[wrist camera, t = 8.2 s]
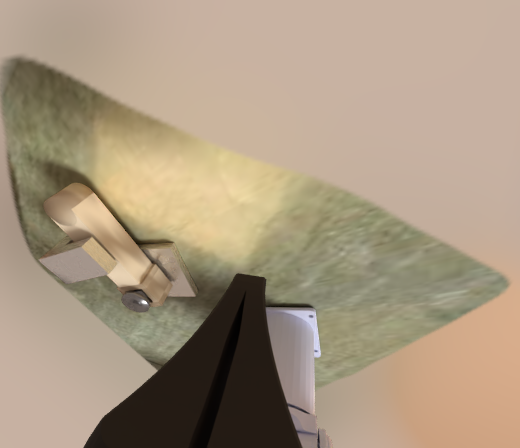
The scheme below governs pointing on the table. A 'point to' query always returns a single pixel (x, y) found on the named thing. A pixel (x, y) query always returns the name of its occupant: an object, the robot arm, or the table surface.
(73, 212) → the link
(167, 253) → the pintle base
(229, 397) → the robot arm
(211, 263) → the table surface
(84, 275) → the block
